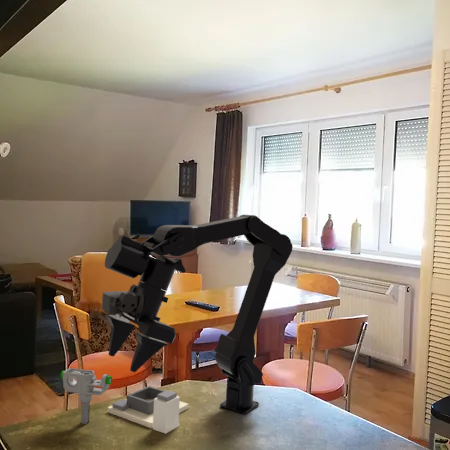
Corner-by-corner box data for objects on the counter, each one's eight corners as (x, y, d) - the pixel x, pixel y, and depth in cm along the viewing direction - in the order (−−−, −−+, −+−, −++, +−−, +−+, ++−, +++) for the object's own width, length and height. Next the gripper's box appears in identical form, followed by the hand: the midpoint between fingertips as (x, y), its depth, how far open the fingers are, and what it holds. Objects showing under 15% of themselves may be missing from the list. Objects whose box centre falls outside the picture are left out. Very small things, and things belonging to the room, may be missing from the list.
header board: (146, 394, 115) (146, 379, 115) (188, 408, 109) (189, 392, 109) (107, 412, 105) (107, 395, 105) (151, 428, 99) (152, 410, 98)
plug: (166, 422, 102) (167, 388, 101) (178, 426, 100) (179, 392, 100) (152, 429, 98) (154, 394, 98) (165, 433, 97) (167, 398, 96)
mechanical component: (105, 428, 98) (107, 377, 97) (57, 421, 100) (58, 371, 99) (112, 422, 101) (114, 372, 100) (65, 415, 103) (66, 367, 102)
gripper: (97, 264, 101) (65, 339, 99) (142, 282, 86) (105, 371, 84) (142, 281, 108) (113, 352, 105) (191, 301, 93) (158, 383, 91)
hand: (121, 363), depth 96 cm, fingers open, 9 cm apart
